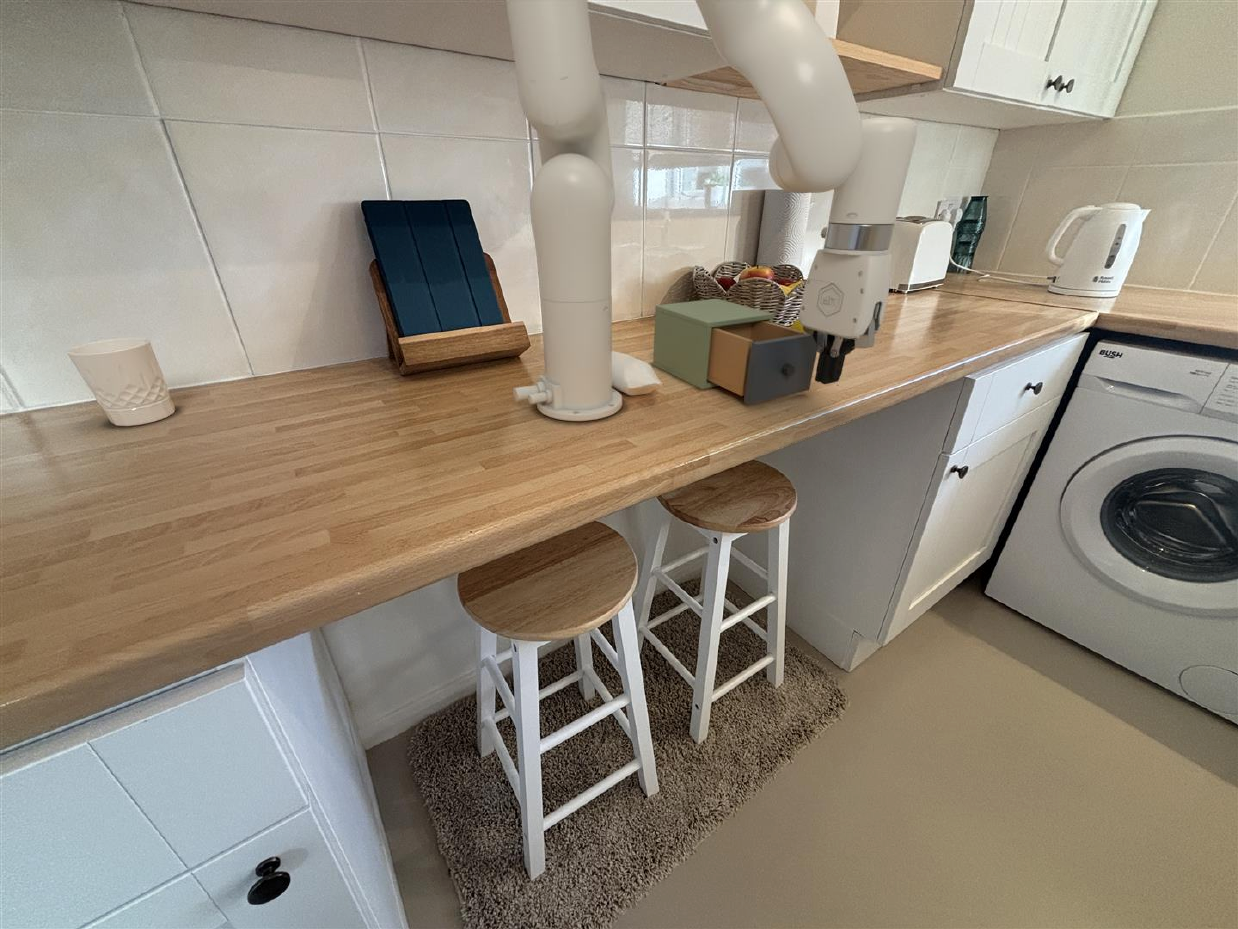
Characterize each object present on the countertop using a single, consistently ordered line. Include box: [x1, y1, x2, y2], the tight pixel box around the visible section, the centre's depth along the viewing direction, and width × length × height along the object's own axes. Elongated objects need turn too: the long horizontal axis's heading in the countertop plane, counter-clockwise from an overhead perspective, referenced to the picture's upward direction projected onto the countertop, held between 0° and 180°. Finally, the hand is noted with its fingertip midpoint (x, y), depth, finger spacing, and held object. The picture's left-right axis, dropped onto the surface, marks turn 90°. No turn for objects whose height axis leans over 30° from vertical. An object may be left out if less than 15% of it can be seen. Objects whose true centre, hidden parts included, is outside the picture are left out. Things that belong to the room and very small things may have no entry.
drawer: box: [707, 320, 818, 405], centre depth 77 cm, size 15×12×9 cm
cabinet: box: [652, 298, 775, 390], centre depth 85 cm, size 15×14×11 cm
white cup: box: [66, 337, 176, 427], centre depth 66 cm, size 8×8×10 cm
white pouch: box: [612, 350, 663, 396], centre depth 76 cm, size 6×12×6 cm, turn 35°
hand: (826, 380), depth 70 cm, fingers closed
